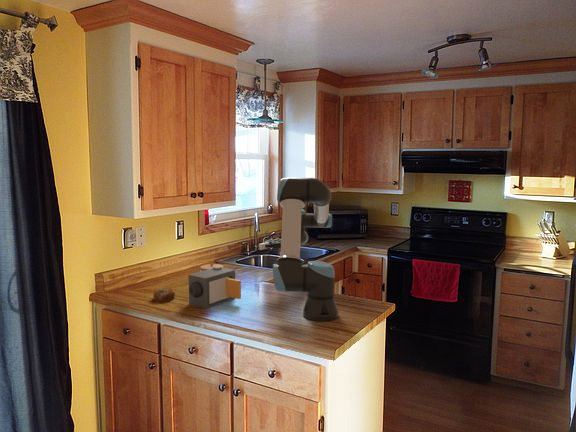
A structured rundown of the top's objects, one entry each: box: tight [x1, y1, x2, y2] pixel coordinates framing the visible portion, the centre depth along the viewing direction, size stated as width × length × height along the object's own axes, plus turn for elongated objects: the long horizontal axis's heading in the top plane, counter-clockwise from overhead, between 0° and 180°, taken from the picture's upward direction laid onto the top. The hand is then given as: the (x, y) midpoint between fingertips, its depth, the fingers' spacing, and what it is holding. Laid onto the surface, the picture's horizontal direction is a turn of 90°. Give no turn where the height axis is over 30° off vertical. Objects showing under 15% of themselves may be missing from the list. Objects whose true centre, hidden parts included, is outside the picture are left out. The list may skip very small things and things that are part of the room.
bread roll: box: [152, 286, 176, 303], centre depth 235 cm, size 10×10×8 cm
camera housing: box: [187, 266, 236, 309], centre depth 231 cm, size 11×22×15 cm, turn 145°
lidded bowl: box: [199, 262, 225, 272], centre depth 265 cm, size 13×13×11 cm
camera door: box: [209, 277, 242, 304], centre depth 224 cm, size 9×12×10 cm
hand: (260, 246), depth 239 cm, fingers closed
